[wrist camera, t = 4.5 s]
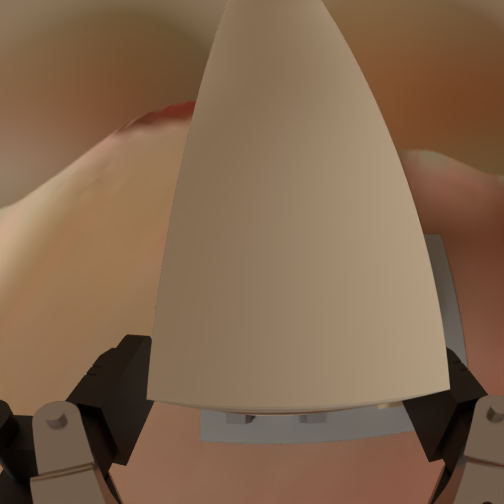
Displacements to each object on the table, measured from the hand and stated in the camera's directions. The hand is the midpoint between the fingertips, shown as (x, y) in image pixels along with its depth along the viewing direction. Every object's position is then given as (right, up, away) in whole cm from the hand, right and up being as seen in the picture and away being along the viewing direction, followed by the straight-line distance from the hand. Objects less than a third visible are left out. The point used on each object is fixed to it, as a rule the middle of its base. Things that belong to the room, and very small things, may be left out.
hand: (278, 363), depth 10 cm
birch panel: (+1, -2, +13) cm, 13 cm away
